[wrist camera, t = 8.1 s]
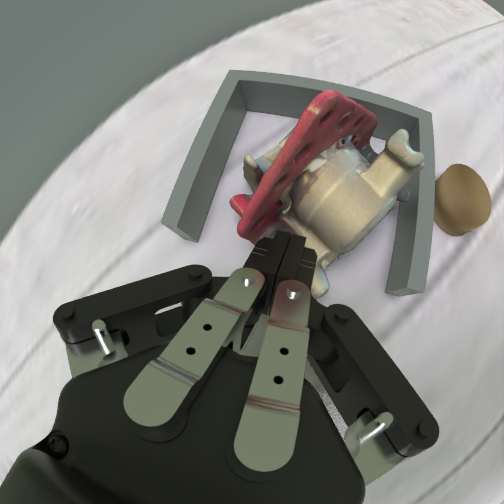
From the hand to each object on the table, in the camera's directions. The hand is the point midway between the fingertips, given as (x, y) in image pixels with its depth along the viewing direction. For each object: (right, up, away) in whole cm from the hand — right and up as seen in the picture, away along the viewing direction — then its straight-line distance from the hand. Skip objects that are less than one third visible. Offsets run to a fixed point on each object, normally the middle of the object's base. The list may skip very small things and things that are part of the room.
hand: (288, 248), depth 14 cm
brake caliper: (+3, +3, +6) cm, 7 cm away
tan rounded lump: (+15, +4, +4) cm, 16 cm away
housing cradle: (+3, +5, +6) cm, 8 cm away
